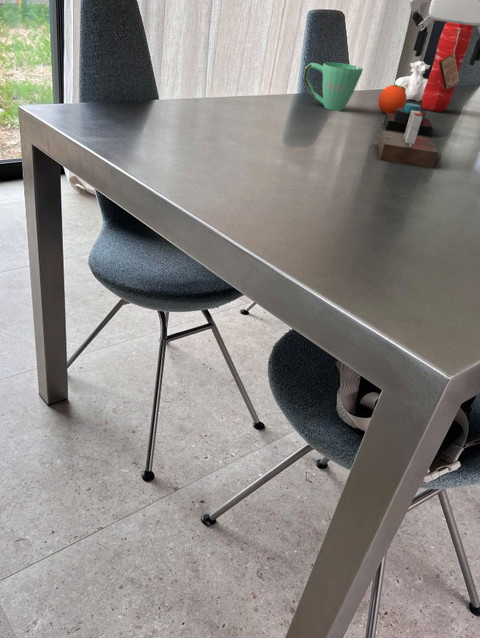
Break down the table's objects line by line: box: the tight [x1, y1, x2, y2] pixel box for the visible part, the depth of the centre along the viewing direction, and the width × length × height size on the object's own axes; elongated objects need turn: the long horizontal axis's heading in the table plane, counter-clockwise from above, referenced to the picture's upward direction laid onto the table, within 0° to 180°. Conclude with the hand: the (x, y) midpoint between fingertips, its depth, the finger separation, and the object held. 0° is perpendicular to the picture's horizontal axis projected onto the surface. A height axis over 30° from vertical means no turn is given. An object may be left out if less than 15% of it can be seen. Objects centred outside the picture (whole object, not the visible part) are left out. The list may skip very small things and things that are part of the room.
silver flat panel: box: [403, 110, 422, 144], centre depth 110 cm, size 6×2×5 cm, turn 167°
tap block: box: [377, 130, 439, 169], centre depth 112 cm, size 10×12×3 cm
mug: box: [303, 61, 364, 112], centre depth 145 cm, size 15×10×10 cm
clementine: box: [377, 84, 407, 115], centre depth 147 cm, size 8×7×7 cm
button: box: [403, 102, 422, 113], centre depth 133 cm, size 4×4×2 cm
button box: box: [383, 107, 434, 138], centre depth 134 cm, size 10×10×4 cm
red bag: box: [421, 22, 474, 113], centre depth 152 cm, size 12×8×25 cm, turn 163°
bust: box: [394, 60, 431, 102], centre depth 171 cm, size 12×8×11 cm
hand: (444, 60), depth 104 cm, fingers open, 9 cm apart
